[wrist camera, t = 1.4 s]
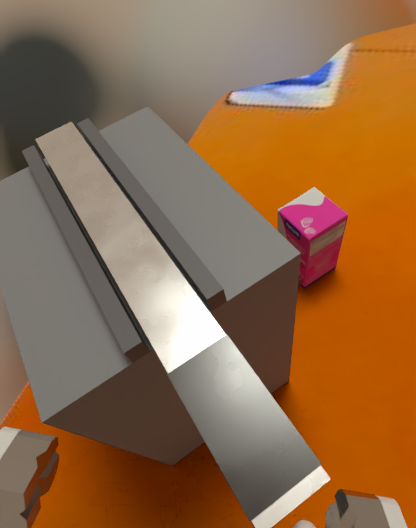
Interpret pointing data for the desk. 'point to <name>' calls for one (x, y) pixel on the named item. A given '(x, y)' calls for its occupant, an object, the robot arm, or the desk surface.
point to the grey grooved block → (113, 301)
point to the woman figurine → (304, 524)
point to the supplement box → (313, 233)
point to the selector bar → (190, 344)
